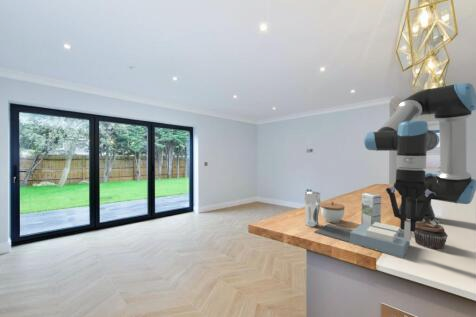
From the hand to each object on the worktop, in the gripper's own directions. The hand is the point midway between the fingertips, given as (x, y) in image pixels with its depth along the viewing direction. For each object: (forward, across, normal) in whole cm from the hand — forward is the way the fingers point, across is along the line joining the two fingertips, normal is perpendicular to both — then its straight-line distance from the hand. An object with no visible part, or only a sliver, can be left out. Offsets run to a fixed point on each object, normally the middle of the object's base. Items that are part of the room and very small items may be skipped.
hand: (407, 240), depth 72 cm
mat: (+5, -23, +4) cm, 24 cm away
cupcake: (+5, +5, +16) cm, 18 cm away
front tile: (+1, -7, 0) cm, 7 cm away
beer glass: (+5, -35, +5) cm, 36 cm away
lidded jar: (+5, -31, +18) cm, 36 cm away
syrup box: (+5, -16, +25) cm, 30 cm away
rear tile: (+1, -7, +8) cm, 11 cm away
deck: (+5, -8, +4) cm, 10 cm away
